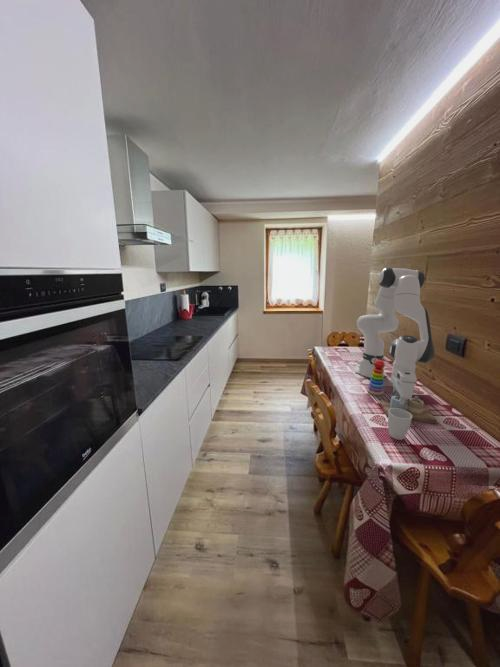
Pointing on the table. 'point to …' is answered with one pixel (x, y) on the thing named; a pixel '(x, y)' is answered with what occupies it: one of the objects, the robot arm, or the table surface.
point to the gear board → (415, 417)
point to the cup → (398, 423)
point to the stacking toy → (376, 379)
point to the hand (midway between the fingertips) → (398, 398)
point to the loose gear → (397, 403)
